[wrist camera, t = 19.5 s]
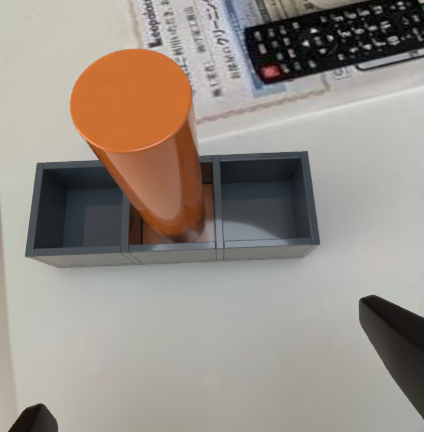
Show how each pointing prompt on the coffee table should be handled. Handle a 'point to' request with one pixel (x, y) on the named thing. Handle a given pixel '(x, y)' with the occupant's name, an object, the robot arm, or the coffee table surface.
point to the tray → (144, 237)
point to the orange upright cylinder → (145, 137)
